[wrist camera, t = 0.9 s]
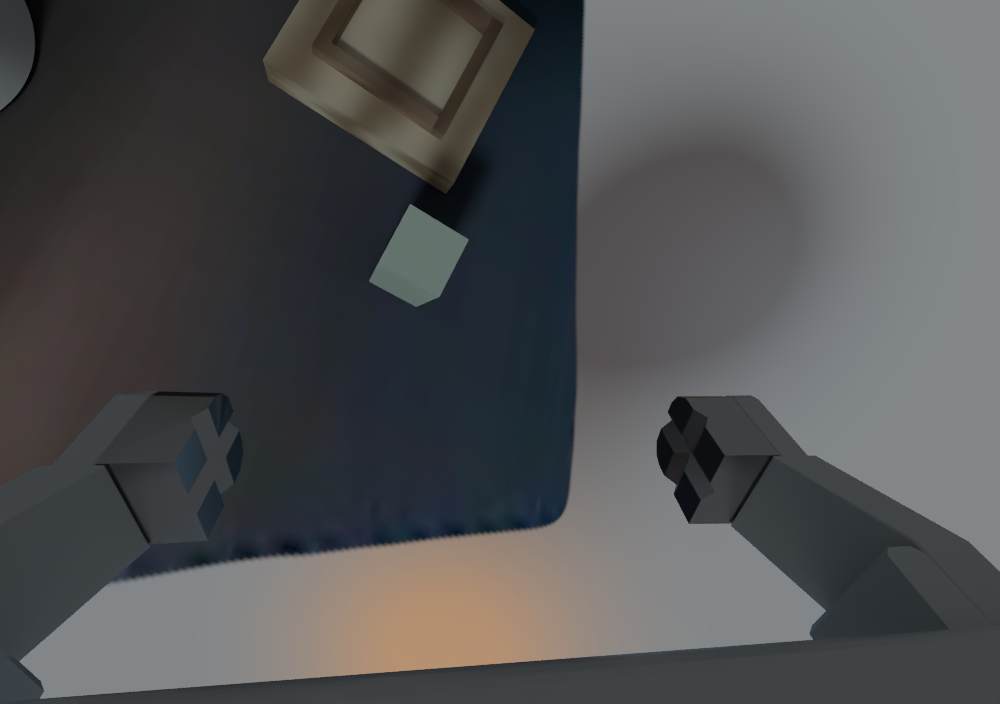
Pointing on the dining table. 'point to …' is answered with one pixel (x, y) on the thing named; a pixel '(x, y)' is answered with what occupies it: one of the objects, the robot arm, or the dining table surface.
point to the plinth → (402, 73)
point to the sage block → (418, 258)
